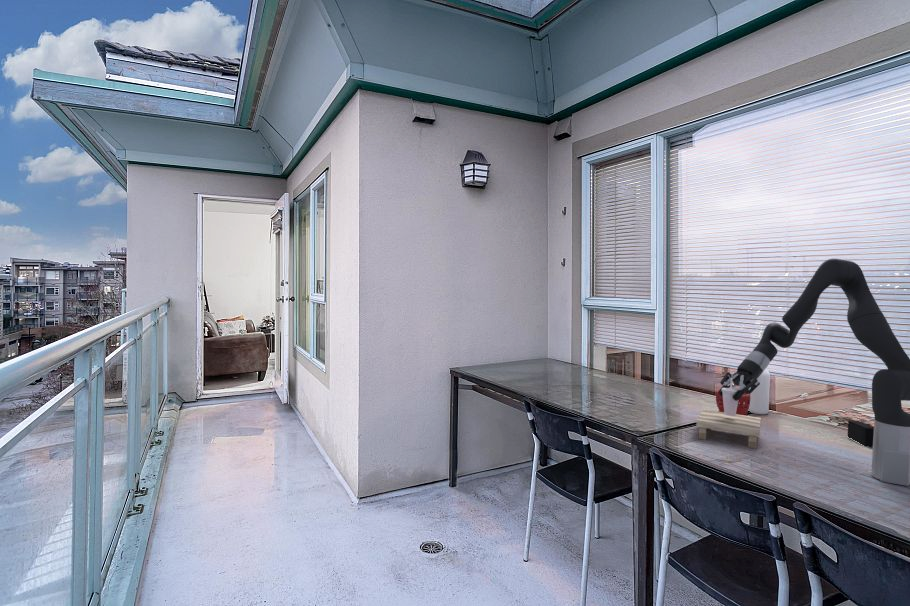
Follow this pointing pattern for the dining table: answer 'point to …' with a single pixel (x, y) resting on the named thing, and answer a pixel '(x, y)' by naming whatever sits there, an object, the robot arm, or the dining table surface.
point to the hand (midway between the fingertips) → (727, 396)
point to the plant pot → (741, 407)
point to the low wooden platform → (729, 425)
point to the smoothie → (729, 400)
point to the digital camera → (861, 432)
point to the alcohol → (761, 395)
